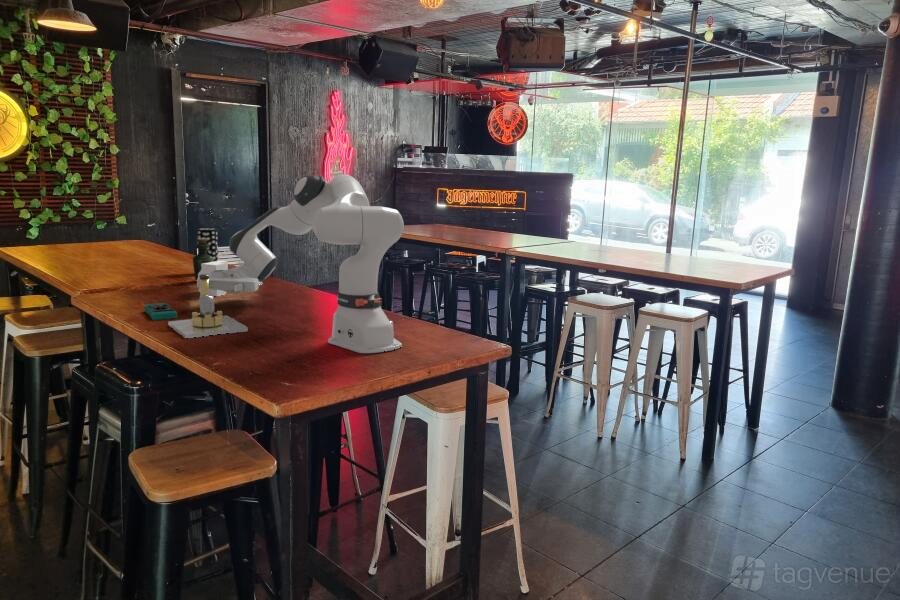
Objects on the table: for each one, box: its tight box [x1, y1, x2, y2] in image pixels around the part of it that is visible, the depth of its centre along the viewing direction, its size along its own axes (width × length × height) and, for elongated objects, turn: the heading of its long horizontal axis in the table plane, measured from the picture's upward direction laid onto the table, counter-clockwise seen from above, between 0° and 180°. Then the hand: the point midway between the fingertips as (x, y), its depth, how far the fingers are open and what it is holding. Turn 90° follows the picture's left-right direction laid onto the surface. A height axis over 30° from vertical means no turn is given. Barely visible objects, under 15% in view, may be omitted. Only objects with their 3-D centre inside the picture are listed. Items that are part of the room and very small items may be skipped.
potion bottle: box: [192, 238, 213, 280], centre depth 268 cm, size 8×8×18 cm
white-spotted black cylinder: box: [196, 227, 219, 262], centre depth 287 cm, size 8×8×20 cm
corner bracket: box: [198, 260, 229, 297], centre depth 246 cm, size 11×11×12 cm
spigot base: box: [167, 295, 249, 340], centre depth 195 cm, size 20×18×10 cm
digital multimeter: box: [144, 302, 178, 321], centre depth 209 cm, size 7×15×3 cm, turn 35°
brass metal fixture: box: [191, 274, 224, 327], centre depth 196 cm, size 14×8×14 cm, turn 24°
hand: (218, 287), depth 212 cm, fingers open, 8 cm apart
